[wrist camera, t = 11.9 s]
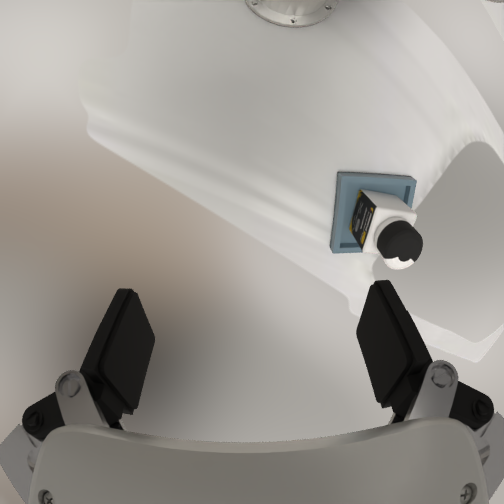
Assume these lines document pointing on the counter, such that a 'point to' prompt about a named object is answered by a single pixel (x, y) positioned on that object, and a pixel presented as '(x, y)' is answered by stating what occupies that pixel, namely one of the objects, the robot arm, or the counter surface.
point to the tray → (348, 195)
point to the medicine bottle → (386, 228)
